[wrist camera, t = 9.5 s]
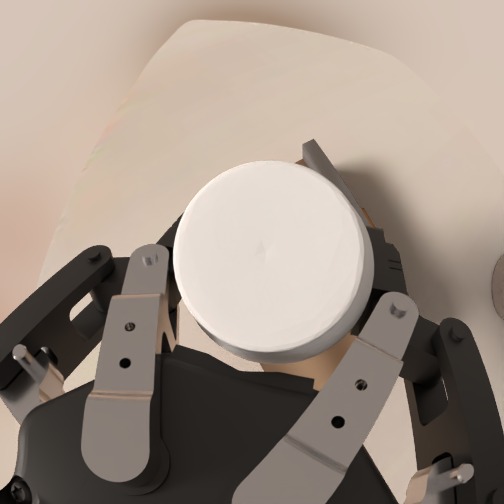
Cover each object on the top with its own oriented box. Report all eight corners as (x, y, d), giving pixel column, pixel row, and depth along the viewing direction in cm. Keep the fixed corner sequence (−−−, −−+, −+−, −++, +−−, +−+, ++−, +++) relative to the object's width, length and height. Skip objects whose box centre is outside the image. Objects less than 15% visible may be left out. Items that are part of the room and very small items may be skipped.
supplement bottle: (352, 312, 15) (437, 338, 5) (253, 344, 15) (179, 416, 5) (318, 215, 16) (341, 100, 6) (223, 247, 16) (120, 181, 6)
